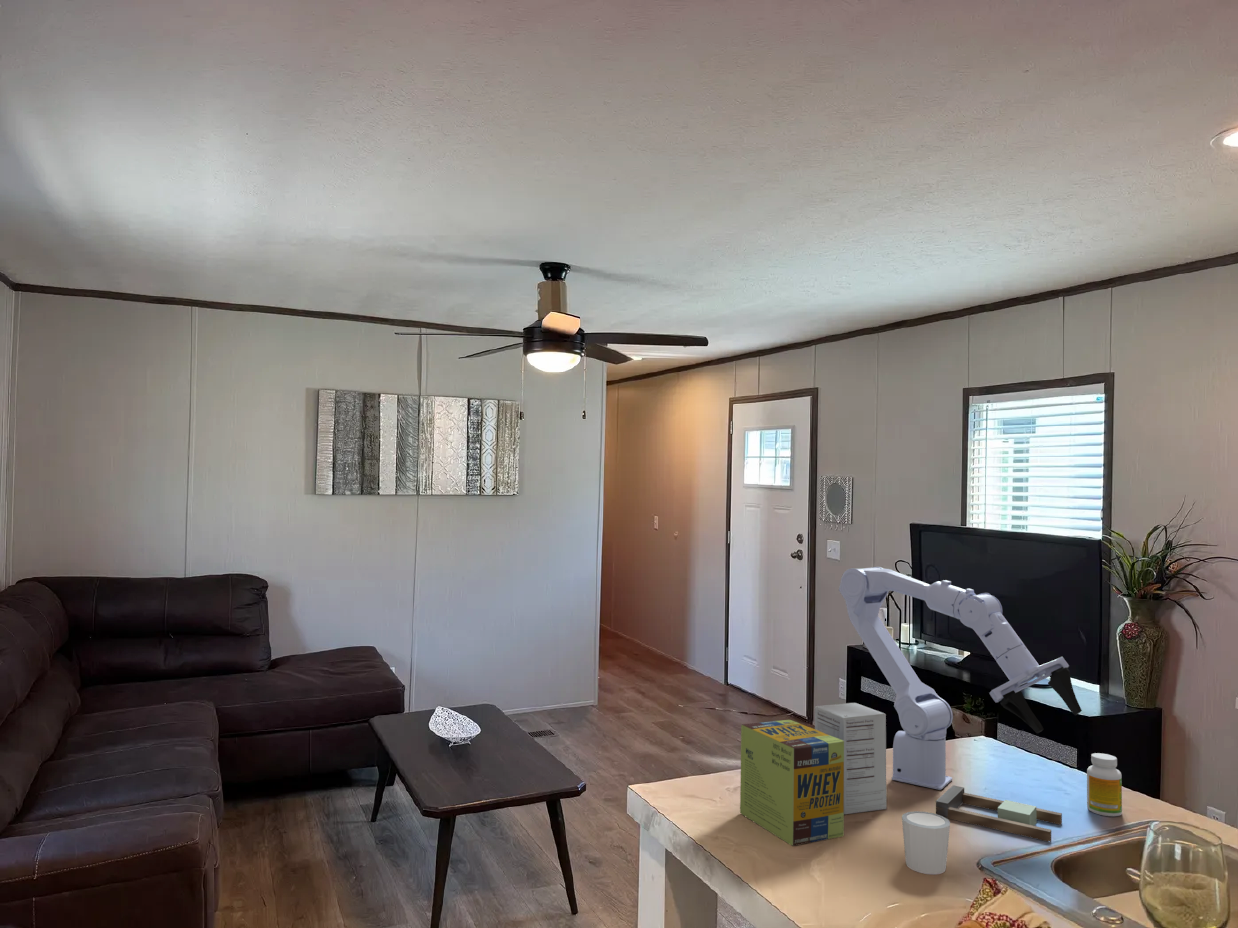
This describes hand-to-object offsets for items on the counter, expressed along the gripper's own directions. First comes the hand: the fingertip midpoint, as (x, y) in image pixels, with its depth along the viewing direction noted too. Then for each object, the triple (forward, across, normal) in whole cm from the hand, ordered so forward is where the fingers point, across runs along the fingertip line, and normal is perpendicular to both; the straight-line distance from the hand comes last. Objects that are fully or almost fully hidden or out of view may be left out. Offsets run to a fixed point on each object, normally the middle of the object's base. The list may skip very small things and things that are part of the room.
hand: (1059, 722), depth 147 cm
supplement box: (-4, -37, +11) cm, 39 cm away
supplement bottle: (+15, +3, +14) cm, 21 cm away
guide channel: (+9, -16, +8) cm, 20 cm away
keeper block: (+11, -14, +7) cm, 19 cm away
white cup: (+11, -36, -11) cm, 39 cm away
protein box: (-4, -50, 0) cm, 50 cm away
